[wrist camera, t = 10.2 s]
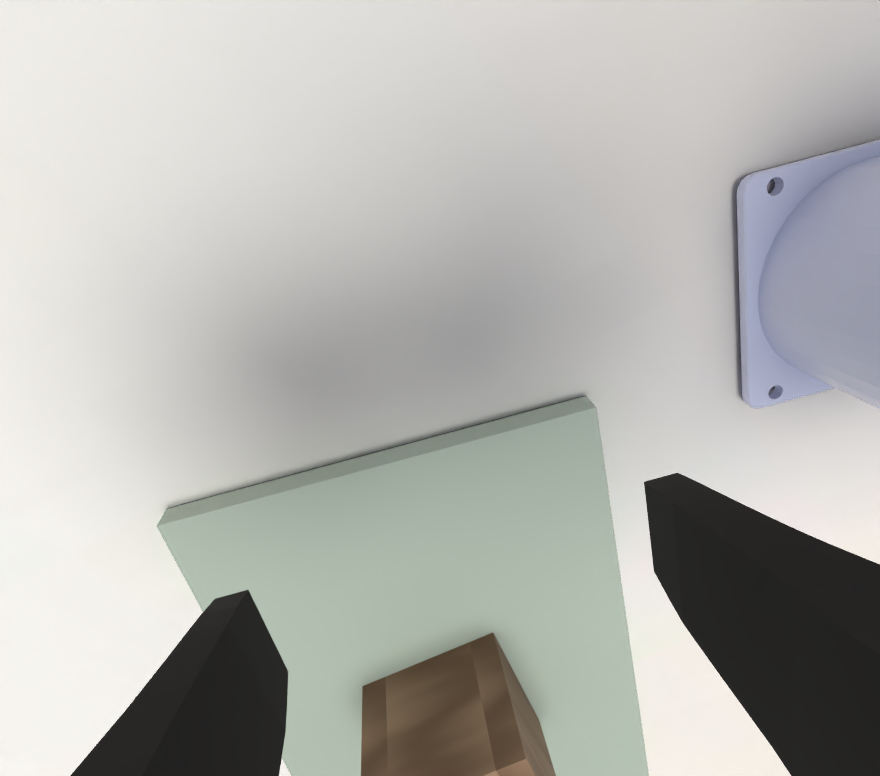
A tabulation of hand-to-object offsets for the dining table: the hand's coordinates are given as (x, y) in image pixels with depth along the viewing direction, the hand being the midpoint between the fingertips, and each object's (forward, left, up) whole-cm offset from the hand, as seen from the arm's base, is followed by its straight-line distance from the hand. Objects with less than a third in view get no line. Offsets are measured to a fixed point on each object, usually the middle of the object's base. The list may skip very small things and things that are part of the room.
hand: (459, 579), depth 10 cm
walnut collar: (+2, +14, -8) cm, 16 cm away
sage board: (+2, +12, -9) cm, 15 cm away
